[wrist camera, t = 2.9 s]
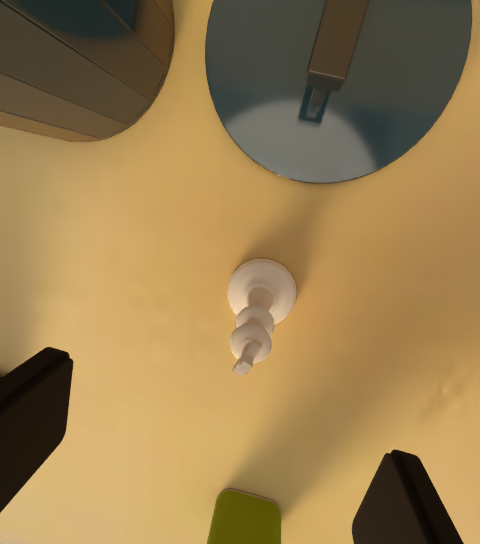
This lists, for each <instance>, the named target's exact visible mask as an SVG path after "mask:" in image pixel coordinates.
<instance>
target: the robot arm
mask: <svg viewBox="0 0 480 544" xmlns="http://www.w3.org/2000/svg"><path fill="white" fill-rule="evenodd" d="M72 370H73V360H72V359H70V358H69V353H68V352H65V351H62V350H58V349H55V348H52V347H47V348H45V349H43V350H42V351H40V352H39V353H37V354H36V355H34V356H33V357H31V358H30V359H28V360H27V361H25V362H24V363H22V364H21V365H20V366H18V367H17V368H15V369H14V370H12V371H11V372H9V373H8V374H6V375H5V376H3V377H2V378H0V512H1V511H2V510H3V509H4V508H5V507H6V505H7V504H8V503H9V502H10V501H11V500H12V499H13V497H14V496H15V495H16V494H17V493H18V492H19V490H20V489H21V488H22V487H23V486H24V485H25V483H26V482H27V481H28V480H29V479H30V478H31V476H32V475H33V474H34V473H35V472H36V471H37V470H38V468H39V467H40V466H41V465H42V464H43V463H44V461H45V460H46V459H47V458H48V457H49V456H50V454H51V453H52V452H53V451H54V450H55V449H56V447H57V446H58V445H59V444H60V443H61V441H62V439H63V437H64V435H65V432H66V425H67V416H68V407H69V398H70V388H71V379H72ZM352 535H353V541H354V544H464V543H463V542H462V540H461V538H460V536H459V534H458V532H457V530H456V528H455V526H454V524H453V522H452V520H451V518H450V516H449V515H448V513H447V511H446V509H445V507H444V505H443V503H442V501H441V499H440V497H439V495H438V493H437V491H436V489H435V487H434V486H433V484H432V482H431V480H430V478H429V476H428V474H427V472H426V470H425V468H424V466H423V464H422V462H421V460H420V459H419V458H418V457H417V456H416V455H413V454H410V453H406V452H403V451H399V450H393V451H392V452H391V453H386V454H385V455H384V457H383V459H382V461H381V463H380V465H379V467H378V470H377V472H376V474H375V476H374V478H373V480H372V482H371V484H370V486H369V488H368V490H367V493H366V495H365V497H364V499H363V501H362V503H361V505H360V507H359V509H358V511H357V513H356V516H355V518H354V520H353V524H352Z"/></svg>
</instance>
